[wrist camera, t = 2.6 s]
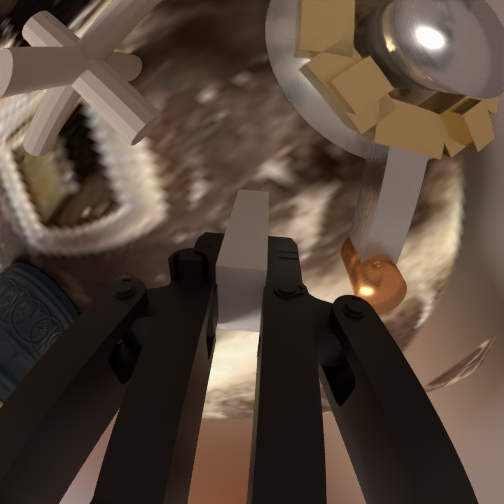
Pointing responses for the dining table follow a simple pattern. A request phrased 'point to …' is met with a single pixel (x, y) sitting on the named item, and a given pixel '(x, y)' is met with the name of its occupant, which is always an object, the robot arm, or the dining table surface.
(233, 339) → the dining table surface
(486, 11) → the gold and silver mechanism
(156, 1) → the pipe connector
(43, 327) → the canister
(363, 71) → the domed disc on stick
